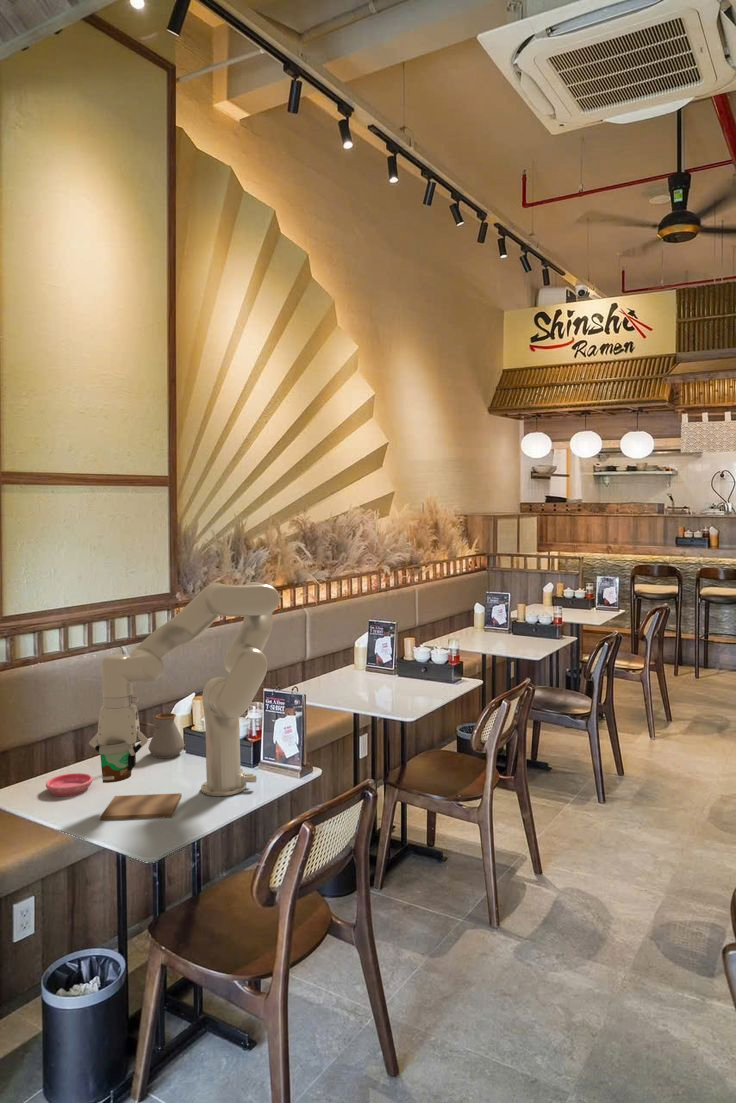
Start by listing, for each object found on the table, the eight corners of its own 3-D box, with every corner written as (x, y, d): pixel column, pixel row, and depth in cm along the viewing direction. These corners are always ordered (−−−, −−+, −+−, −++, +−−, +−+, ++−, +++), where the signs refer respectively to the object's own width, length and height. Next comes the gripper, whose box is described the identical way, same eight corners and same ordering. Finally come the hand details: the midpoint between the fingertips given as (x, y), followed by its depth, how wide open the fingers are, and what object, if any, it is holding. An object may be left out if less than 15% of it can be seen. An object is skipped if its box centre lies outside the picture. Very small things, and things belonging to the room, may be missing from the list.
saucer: (78, 779, 224) (78, 769, 224) (101, 789, 216) (101, 778, 216) (37, 792, 214) (37, 781, 214) (60, 802, 207) (60, 790, 206)
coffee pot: (172, 746, 254) (170, 702, 253) (192, 753, 246) (190, 708, 246) (113, 763, 238) (112, 716, 238) (133, 770, 231) (131, 722, 230)
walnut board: (181, 796, 208) (181, 793, 208) (171, 817, 195) (171, 813, 194) (115, 799, 207) (114, 795, 207) (100, 820, 193) (100, 816, 193)
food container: (121, 785, 193) (120, 747, 193) (99, 784, 195) (98, 746, 194) (144, 770, 206) (143, 733, 205) (123, 769, 207) (122, 733, 206)
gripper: (154, 697, 203) (155, 764, 204) (88, 699, 202) (90, 765, 203) (147, 704, 196) (149, 773, 197) (80, 706, 195) (81, 775, 196)
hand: (119, 768), depth 200 cm, fingers closed on food container, 5 cm apart
